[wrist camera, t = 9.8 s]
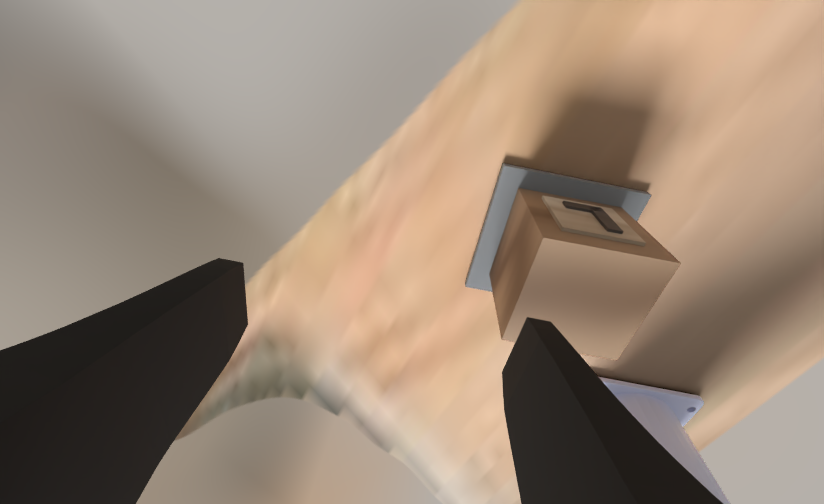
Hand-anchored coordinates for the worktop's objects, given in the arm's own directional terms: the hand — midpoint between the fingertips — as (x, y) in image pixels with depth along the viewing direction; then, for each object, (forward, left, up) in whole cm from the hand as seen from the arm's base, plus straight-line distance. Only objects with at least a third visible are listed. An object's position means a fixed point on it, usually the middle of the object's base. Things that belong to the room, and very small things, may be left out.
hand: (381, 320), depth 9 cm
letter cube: (-1, -8, -10) cm, 12 cm away
